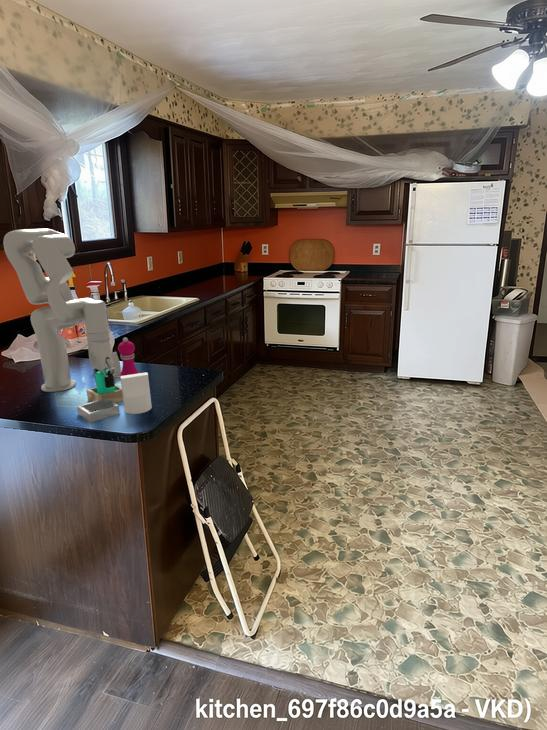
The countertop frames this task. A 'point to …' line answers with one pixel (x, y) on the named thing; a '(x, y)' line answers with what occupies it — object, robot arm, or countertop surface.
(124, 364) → the pepper mill
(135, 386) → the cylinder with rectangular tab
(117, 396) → the wooden frame
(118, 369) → the grey angular block
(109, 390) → the candle
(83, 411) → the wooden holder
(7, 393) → the countertop surface
